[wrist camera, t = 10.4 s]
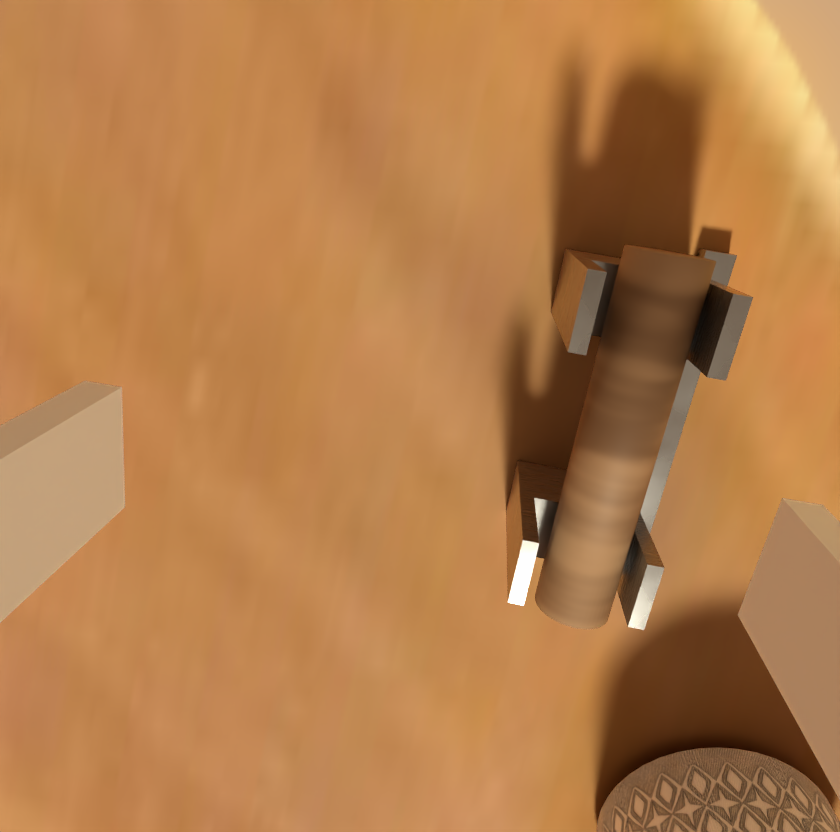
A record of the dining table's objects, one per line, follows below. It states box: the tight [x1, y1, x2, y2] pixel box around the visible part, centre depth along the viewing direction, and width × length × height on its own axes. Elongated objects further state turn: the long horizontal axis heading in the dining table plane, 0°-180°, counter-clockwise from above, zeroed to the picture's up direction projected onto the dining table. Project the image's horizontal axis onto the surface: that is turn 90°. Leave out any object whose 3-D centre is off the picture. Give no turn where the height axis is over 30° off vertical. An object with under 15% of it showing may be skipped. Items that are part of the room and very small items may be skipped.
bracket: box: [506, 249, 753, 630], centre depth 35 cm, size 19×9×10 cm, turn 171°
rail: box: [535, 245, 716, 629], centre depth 33 cm, size 19×4×4 cm, turn 171°
